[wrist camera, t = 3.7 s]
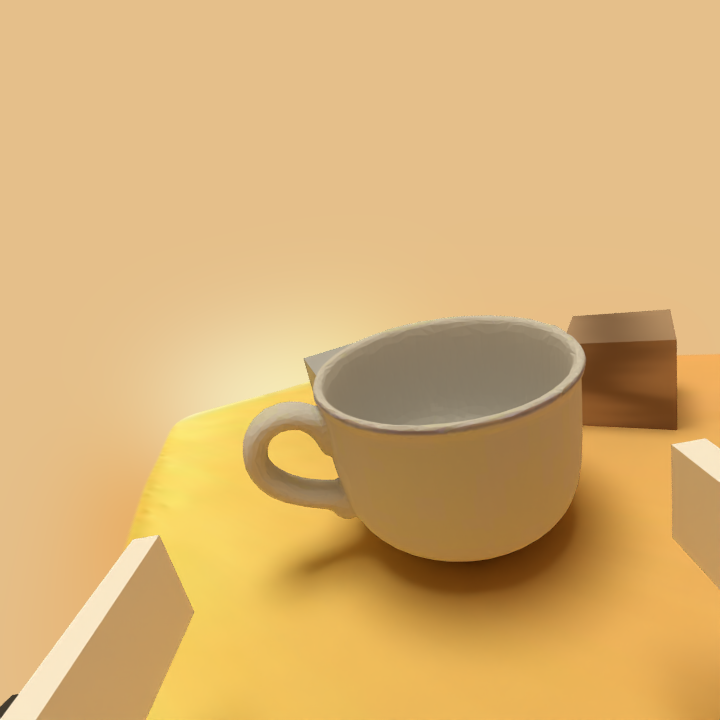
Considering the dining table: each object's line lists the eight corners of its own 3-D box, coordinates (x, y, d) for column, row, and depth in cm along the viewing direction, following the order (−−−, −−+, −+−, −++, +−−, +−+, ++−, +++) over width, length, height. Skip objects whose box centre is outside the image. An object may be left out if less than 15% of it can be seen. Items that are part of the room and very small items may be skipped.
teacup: (531, 431, 25) (516, 297, 23) (662, 577, 15) (658, 362, 13) (298, 483, 26) (258, 358, 23) (270, 660, 16) (192, 468, 13)
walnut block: (670, 389, 26) (669, 309, 25) (676, 431, 22) (676, 339, 21) (578, 388, 29) (572, 316, 28) (569, 425, 25) (562, 344, 24)
